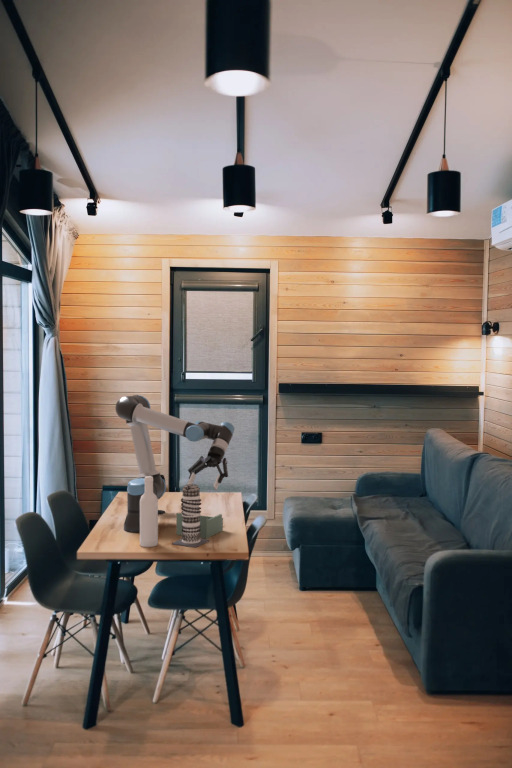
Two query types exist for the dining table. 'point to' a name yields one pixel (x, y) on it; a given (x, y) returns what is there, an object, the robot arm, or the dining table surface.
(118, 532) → the dining table surface
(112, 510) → the dining table surface
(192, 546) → the mat
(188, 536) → the decorative candle
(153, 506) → the bottle
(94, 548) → the dining table surface
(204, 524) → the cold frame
